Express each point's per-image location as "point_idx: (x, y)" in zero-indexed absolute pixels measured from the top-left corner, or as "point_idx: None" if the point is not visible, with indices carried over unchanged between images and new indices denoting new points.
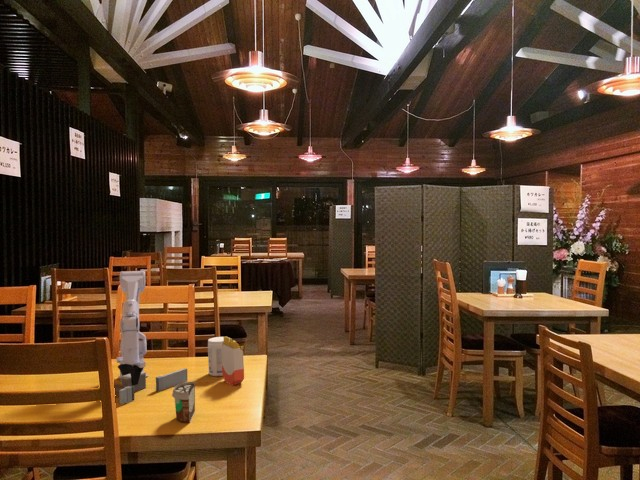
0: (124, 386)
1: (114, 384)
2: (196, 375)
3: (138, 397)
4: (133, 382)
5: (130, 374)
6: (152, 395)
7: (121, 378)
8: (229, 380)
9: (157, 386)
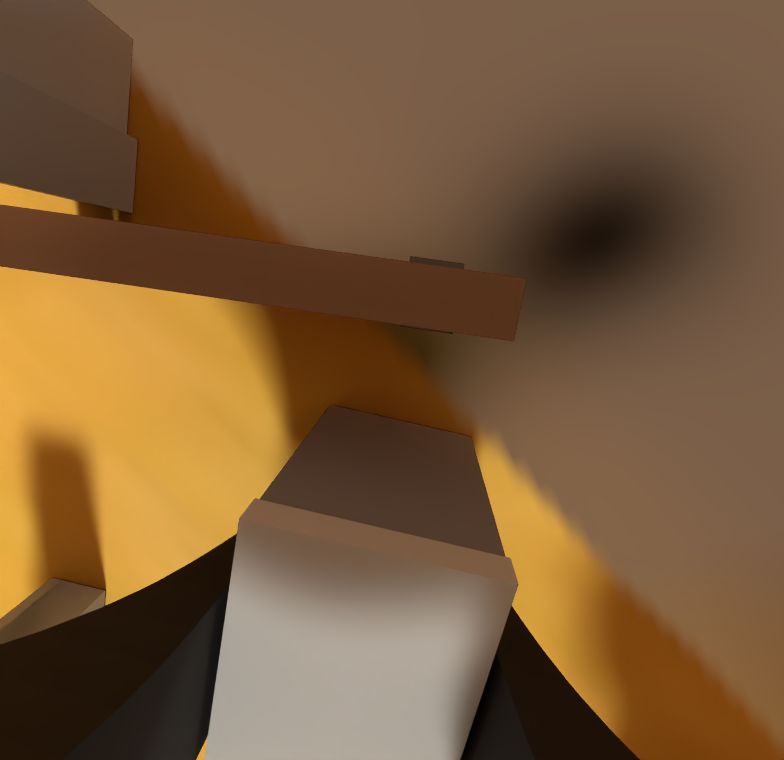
0: (118, 225)
1: (436, 266)
2: None
3: (113, 349)
4: (235, 540)
5: (378, 736)
6: (19, 455)
7: (482, 547)
8: None
9: (29, 625)
